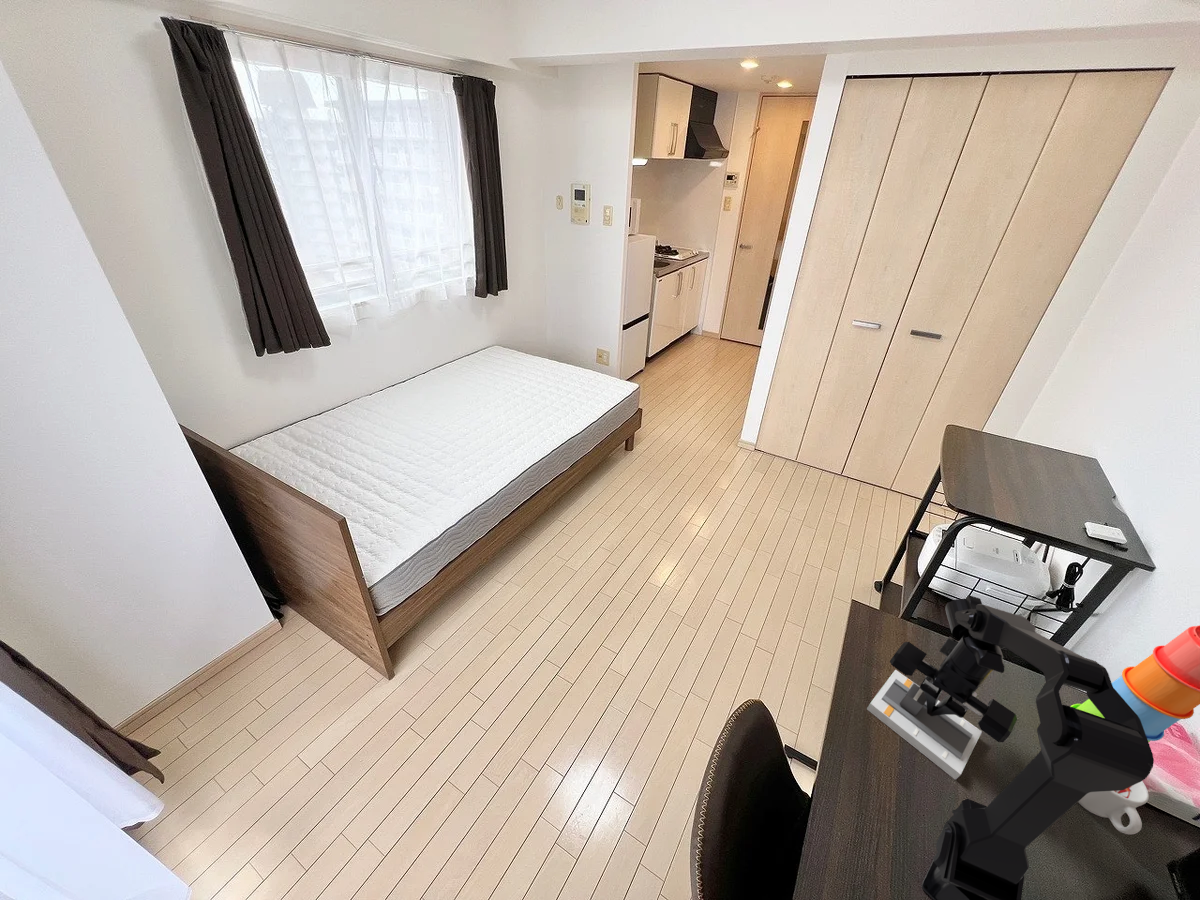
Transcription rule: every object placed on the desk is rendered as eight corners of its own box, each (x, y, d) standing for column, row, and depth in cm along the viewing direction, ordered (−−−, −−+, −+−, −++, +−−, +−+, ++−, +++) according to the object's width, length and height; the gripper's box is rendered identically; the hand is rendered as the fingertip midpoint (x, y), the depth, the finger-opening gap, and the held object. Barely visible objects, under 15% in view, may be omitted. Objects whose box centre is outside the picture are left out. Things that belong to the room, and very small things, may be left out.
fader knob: (915, 716, 92) (923, 705, 90) (899, 704, 94) (907, 693, 92) (922, 705, 94) (930, 694, 92) (906, 693, 96) (914, 682, 94)
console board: (955, 780, 85) (962, 773, 84) (866, 708, 95) (871, 701, 94) (976, 737, 92) (983, 730, 90) (891, 675, 102) (896, 667, 100)
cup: (1142, 851, 78) (1177, 830, 74) (1088, 837, 79) (1119, 816, 75) (1098, 779, 87) (1126, 757, 83) (1049, 768, 88) (1075, 745, 84)
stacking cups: (1108, 747, 92) (1251, 631, 74) (1114, 793, 85) (1274, 677, 67) (1042, 712, 97) (1160, 595, 79) (1042, 752, 90) (1172, 635, 72)
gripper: (1046, 677, 82) (999, 727, 90) (929, 606, 94) (897, 655, 102) (1029, 717, 75) (980, 766, 84) (906, 635, 87) (874, 685, 95)
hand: (929, 713), depth 91 cm, fingers closed
